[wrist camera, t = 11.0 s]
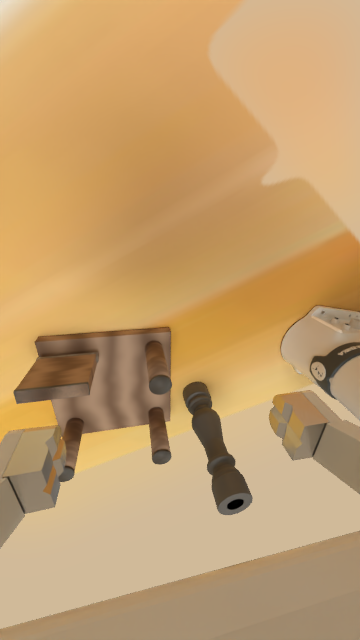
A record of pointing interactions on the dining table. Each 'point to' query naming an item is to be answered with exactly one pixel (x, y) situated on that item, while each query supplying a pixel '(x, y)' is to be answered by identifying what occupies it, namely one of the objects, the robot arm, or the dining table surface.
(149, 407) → the stool
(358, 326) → the robot arm
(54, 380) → the hinged leg
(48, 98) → the dining table surface
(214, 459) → the candle holder
